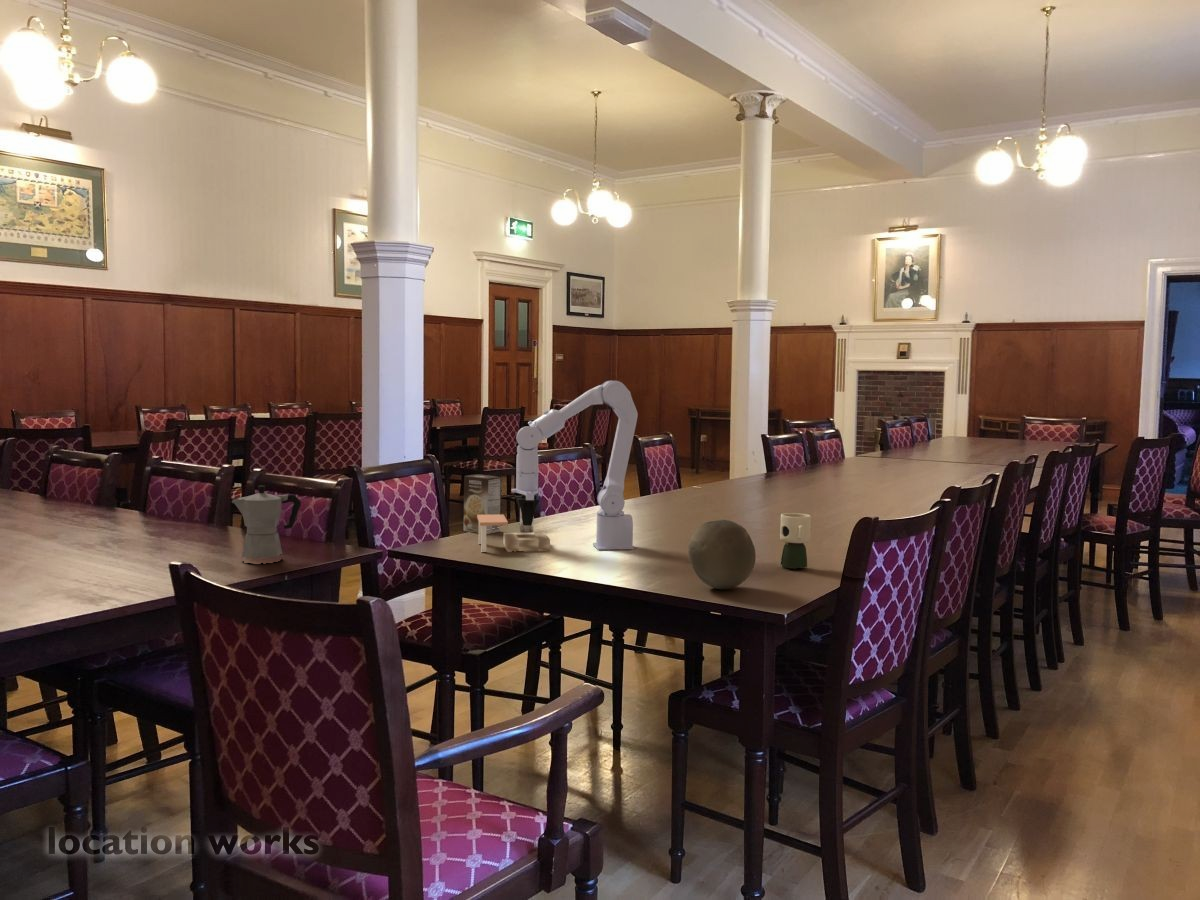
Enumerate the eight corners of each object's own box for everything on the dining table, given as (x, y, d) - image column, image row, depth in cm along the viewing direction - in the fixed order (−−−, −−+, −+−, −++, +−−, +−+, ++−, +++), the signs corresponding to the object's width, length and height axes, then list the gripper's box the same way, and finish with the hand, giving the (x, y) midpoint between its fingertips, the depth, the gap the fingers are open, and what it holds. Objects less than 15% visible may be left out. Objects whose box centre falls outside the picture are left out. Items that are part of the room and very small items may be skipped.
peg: (532, 530, 241) (532, 500, 240) (534, 532, 238) (535, 502, 237) (518, 530, 240) (519, 500, 239) (520, 533, 237) (521, 502, 236)
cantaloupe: (694, 580, 204) (696, 514, 203) (758, 585, 200) (760, 518, 199) (681, 594, 190) (683, 523, 189) (749, 600, 186) (752, 527, 185)
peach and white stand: (503, 543, 244) (503, 514, 244) (507, 552, 232) (507, 522, 231) (476, 543, 243) (477, 514, 242) (479, 553, 230) (480, 522, 230)
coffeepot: (233, 566, 209) (232, 488, 207) (231, 558, 217) (230, 483, 216) (303, 562, 215) (303, 486, 214) (298, 554, 224) (298, 482, 222)
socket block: (544, 543, 246) (544, 532, 245) (549, 551, 235) (550, 539, 235) (503, 543, 243) (503, 532, 243) (507, 551, 233) (507, 540, 232)
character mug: (773, 563, 224) (775, 511, 223) (802, 564, 225) (804, 511, 224) (785, 573, 213) (787, 518, 212) (815, 573, 214) (817, 518, 213)
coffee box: (462, 531, 262) (462, 475, 261) (476, 528, 268) (477, 473, 267) (486, 534, 258) (487, 478, 256) (501, 531, 263) (501, 476, 262)
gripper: (509, 469, 244) (508, 519, 245) (514, 475, 230) (513, 528, 231) (535, 469, 245) (534, 519, 246) (542, 475, 231) (541, 528, 232)
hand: (526, 524), depth 239 cm, fingers closed on peg, 4 cm apart
